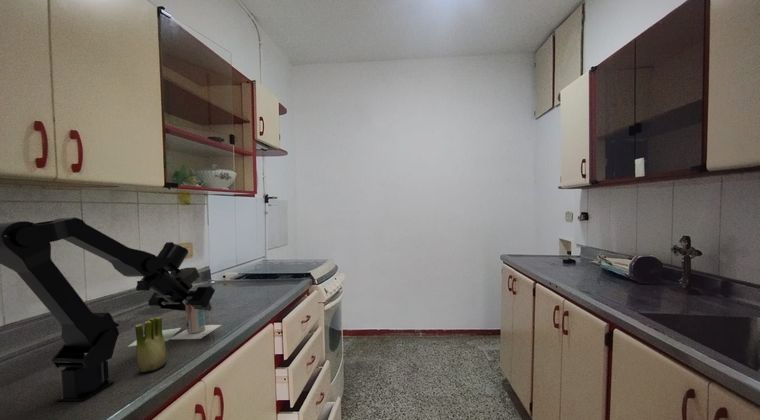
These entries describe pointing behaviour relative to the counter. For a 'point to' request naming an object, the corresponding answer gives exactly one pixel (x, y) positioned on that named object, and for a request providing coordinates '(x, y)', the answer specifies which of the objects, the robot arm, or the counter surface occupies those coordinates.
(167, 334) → the sage mat
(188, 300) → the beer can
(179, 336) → the card
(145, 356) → the fennel bulb
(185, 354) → the counter surface
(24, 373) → the counter surface
